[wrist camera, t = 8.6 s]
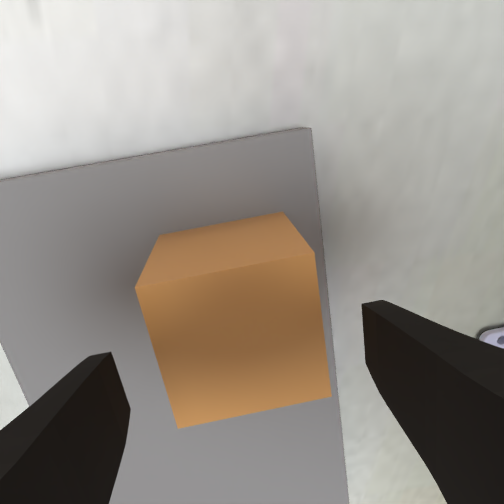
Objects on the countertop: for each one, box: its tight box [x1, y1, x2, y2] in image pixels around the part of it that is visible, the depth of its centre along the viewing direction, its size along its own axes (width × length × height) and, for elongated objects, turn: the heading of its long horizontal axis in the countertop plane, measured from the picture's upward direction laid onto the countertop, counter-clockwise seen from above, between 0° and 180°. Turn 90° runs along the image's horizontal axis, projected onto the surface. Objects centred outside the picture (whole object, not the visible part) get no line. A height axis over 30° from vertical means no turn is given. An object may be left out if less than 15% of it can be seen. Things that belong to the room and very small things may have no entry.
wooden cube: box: [135, 212, 332, 429], centre depth 14 cm, size 5×5×5 cm
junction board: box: [0, 128, 349, 504], centre depth 17 cm, size 14×21×4 cm, turn 9°
